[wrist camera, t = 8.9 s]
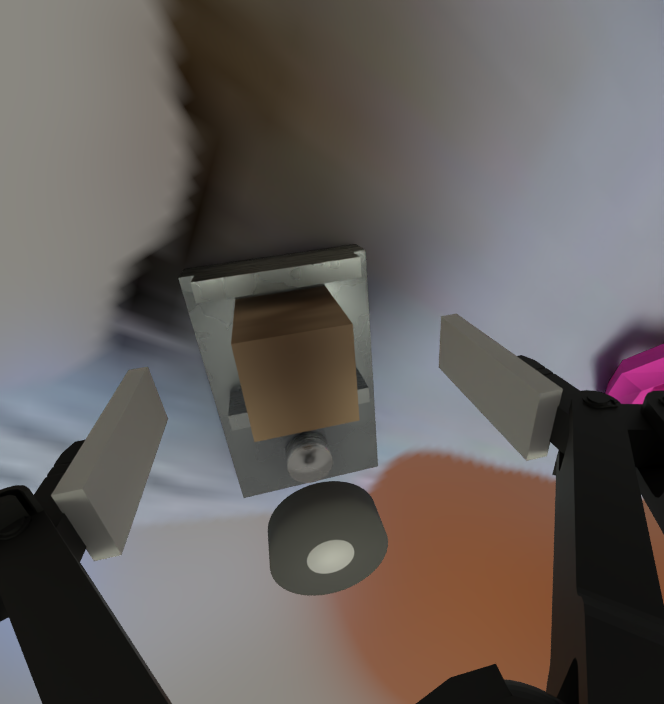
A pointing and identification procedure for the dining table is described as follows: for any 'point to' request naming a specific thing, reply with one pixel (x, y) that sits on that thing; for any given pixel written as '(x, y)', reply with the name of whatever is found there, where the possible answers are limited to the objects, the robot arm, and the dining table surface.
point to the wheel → (325, 538)
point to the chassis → (215, 347)
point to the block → (295, 362)
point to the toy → (638, 376)
